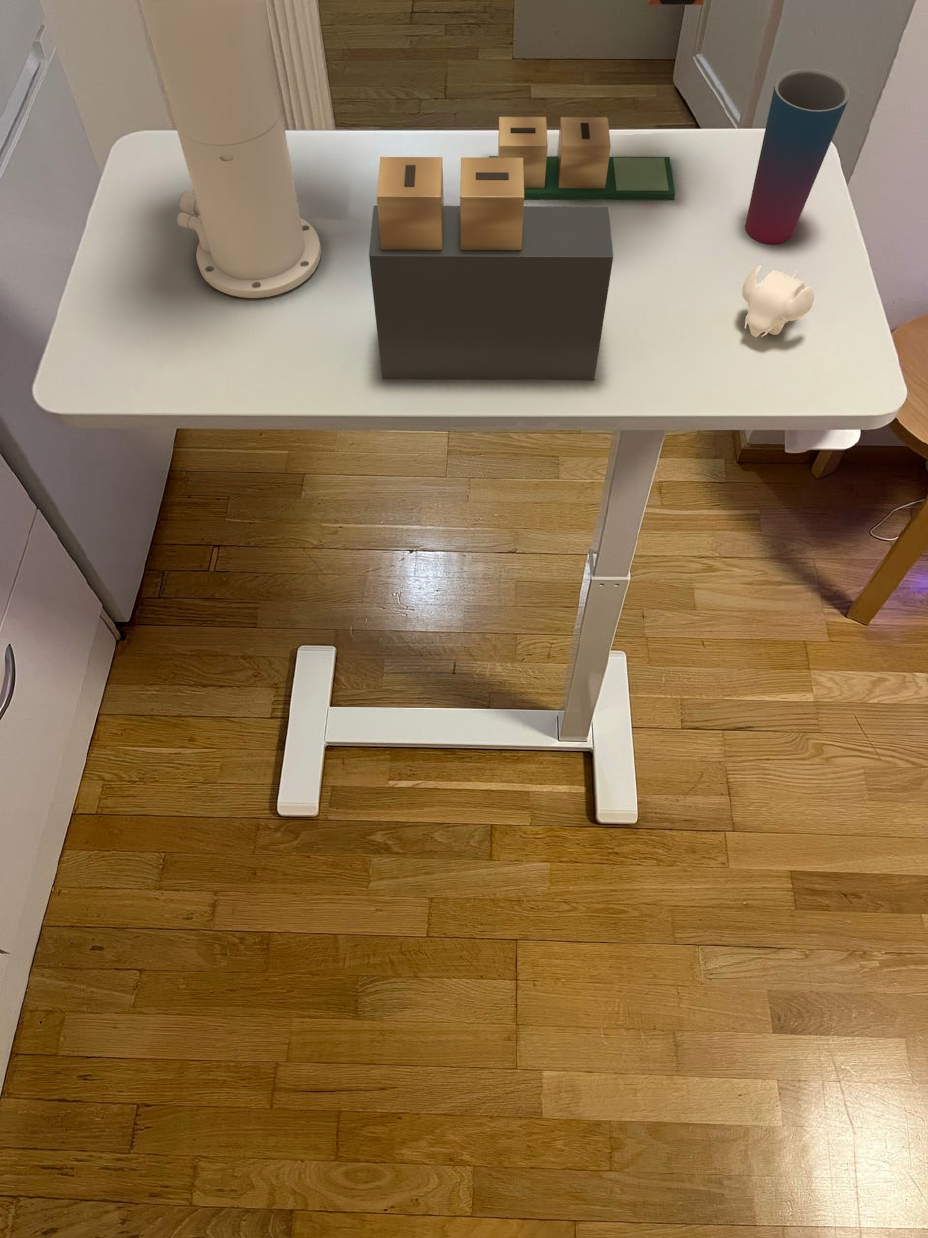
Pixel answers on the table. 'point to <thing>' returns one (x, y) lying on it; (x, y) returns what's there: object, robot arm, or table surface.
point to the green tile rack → (581, 162)
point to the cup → (793, 150)
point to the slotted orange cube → (656, 1)
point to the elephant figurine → (774, 301)
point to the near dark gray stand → (484, 276)
